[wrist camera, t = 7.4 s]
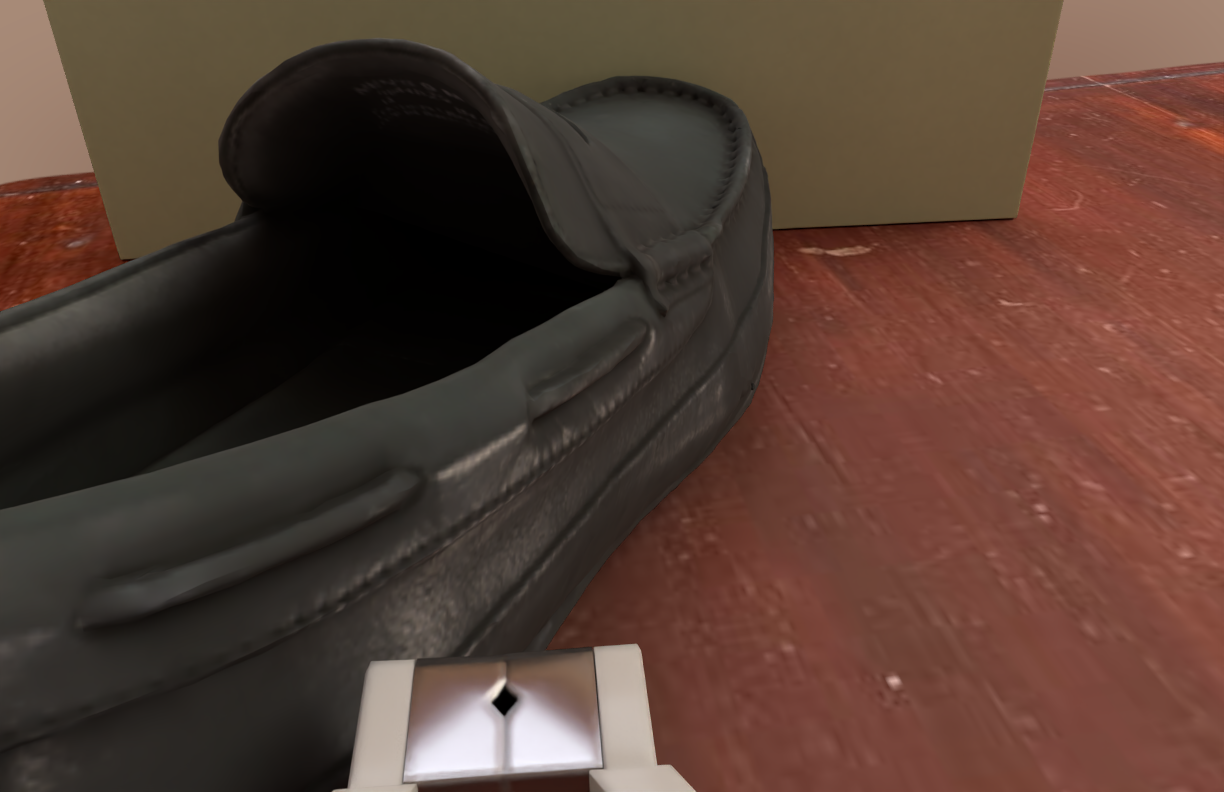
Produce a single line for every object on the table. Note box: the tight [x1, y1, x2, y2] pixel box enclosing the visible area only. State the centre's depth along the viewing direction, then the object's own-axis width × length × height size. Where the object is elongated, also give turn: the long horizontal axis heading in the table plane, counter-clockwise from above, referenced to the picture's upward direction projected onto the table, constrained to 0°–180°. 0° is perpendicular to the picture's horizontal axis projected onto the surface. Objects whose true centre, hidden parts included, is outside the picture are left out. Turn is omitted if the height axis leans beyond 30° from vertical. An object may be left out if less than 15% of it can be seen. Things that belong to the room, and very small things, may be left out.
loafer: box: [0, 38, 774, 792], centre depth 20 cm, size 10×29×10 cm, turn 164°
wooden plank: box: [43, 0, 1063, 260], centre depth 32 cm, size 30×2×11 cm, turn 95°
